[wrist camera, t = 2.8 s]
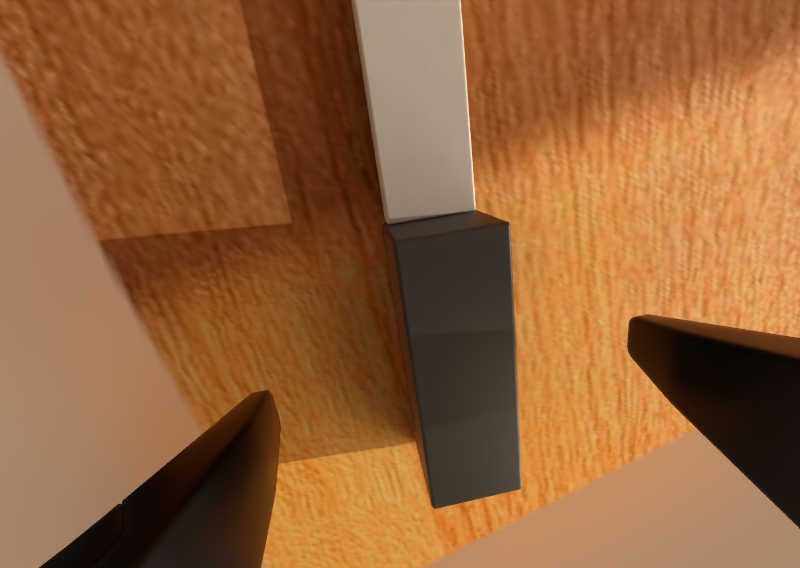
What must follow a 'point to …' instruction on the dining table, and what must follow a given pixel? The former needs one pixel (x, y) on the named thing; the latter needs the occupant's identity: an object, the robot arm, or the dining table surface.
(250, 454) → the robot arm
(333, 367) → the dining table surface
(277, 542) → the dining table surface
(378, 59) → the two-tone stick
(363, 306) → the dining table surface
